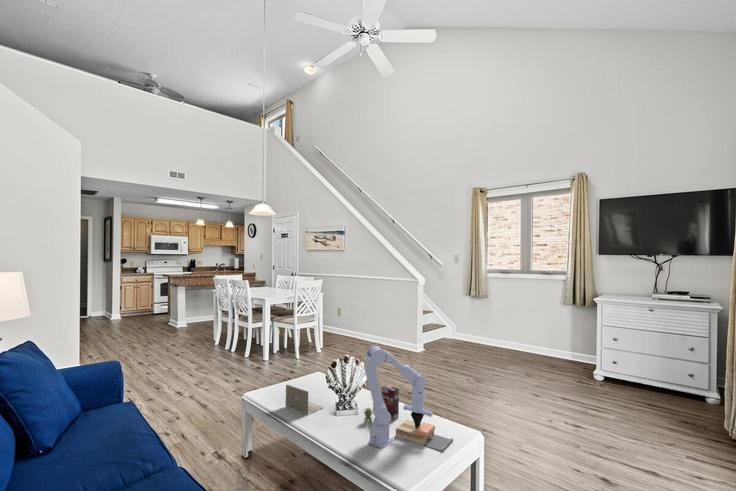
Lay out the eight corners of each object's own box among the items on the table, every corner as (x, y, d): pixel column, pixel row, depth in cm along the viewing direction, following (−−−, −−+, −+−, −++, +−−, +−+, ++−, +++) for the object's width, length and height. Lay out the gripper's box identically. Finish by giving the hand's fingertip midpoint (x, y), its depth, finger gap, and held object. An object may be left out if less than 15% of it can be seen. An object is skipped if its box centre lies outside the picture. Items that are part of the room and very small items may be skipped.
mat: (442, 452, 164) (442, 449, 164) (424, 445, 170) (424, 443, 170) (452, 441, 174) (453, 438, 174) (434, 435, 179) (435, 432, 179)
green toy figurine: (366, 415, 201) (366, 401, 201) (384, 421, 193) (384, 407, 193) (351, 423, 191) (352, 408, 192) (369, 430, 184) (369, 415, 184)
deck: (423, 445, 170) (423, 437, 170) (395, 435, 179) (395, 428, 179) (433, 435, 179) (434, 428, 179) (406, 427, 188) (406, 420, 188)
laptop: (323, 408, 210) (323, 385, 210) (307, 416, 200) (308, 391, 200) (301, 400, 221) (301, 378, 221) (285, 407, 210) (285, 384, 211)
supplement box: (380, 416, 200) (381, 386, 200) (386, 413, 203) (386, 384, 204) (393, 421, 194) (394, 390, 194) (399, 418, 198) (399, 388, 198)
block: (426, 437, 170) (426, 432, 170) (415, 433, 174) (415, 429, 174) (435, 429, 178) (435, 425, 178) (423, 426, 181) (423, 422, 181)
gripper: (435, 400, 178) (434, 428, 177) (408, 393, 186) (408, 420, 186) (428, 405, 172) (428, 434, 172) (401, 398, 180) (401, 426, 180)
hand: (417, 427), depth 178 cm, fingers closed
